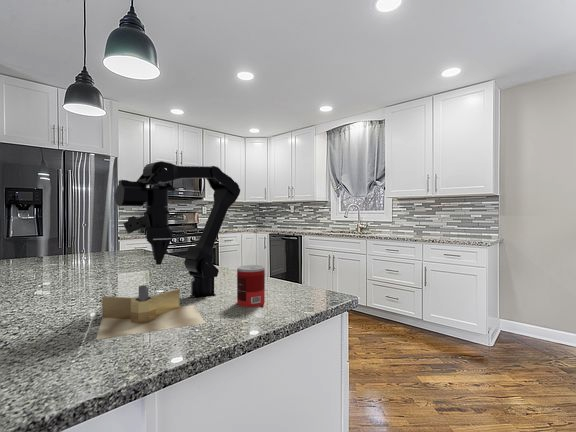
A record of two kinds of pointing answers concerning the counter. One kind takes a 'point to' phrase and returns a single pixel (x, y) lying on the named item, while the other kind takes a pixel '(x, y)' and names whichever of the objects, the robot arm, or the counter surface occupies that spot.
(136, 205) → the robot arm
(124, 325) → the mounting board
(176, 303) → the spoked octagonal hub
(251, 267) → the canned food
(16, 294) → the counter surface
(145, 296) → the pin
